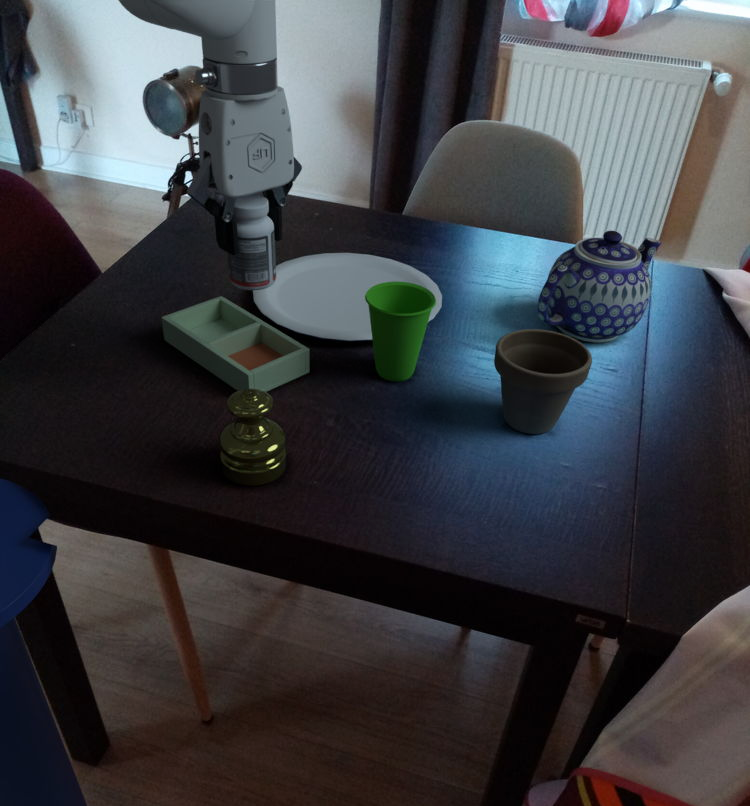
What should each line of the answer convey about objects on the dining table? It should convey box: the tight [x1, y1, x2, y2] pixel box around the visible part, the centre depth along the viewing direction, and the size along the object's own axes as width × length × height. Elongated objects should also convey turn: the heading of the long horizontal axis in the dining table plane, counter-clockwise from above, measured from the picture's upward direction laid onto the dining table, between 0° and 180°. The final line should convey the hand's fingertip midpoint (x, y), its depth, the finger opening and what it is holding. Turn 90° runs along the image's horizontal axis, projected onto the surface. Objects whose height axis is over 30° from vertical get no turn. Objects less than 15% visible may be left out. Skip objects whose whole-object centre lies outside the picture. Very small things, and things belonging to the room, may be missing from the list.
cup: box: [365, 282, 436, 382], centre depth 103 cm, size 9×9×11 cm
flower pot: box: [493, 328, 593, 435], centre depth 96 cm, size 12×11×10 cm
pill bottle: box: [226, 193, 277, 291], centre depth 93 cm, size 6×6×10 cm
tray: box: [160, 295, 311, 393], centre depth 106 cm, size 10×19×4 cm, turn 45°
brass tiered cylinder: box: [218, 389, 287, 487], centre depth 86 cm, size 7×7×10 cm
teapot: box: [536, 230, 662, 344], centre depth 114 cm, size 25×15×15 cm, turn 125°
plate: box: [252, 252, 443, 343], centre depth 121 cm, size 29×29×2 cm
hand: (250, 242), depth 93 cm, fingers closed on pill bottle, 5 cm apart
